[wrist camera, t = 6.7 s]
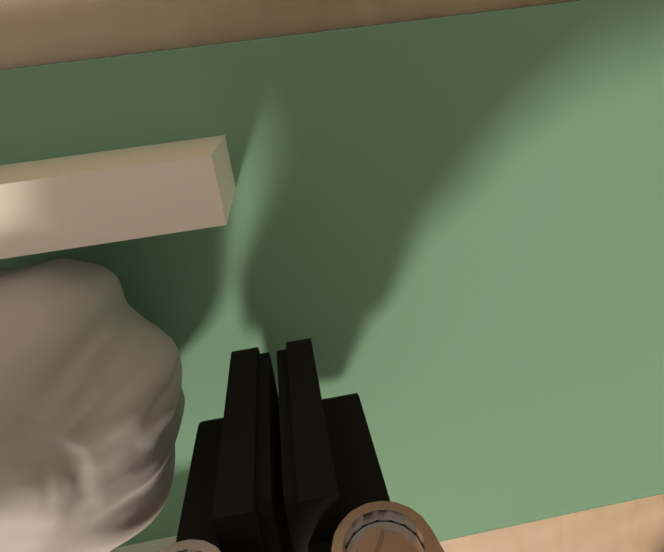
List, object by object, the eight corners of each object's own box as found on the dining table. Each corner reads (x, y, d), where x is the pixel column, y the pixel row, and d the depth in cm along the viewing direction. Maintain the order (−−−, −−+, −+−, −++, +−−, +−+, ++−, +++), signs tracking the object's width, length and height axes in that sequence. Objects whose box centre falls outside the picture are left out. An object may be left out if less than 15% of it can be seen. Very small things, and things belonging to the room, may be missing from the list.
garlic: (116, 490, 11) (11, 782, 7) (-126, 393, 10) (-511, 704, 5) (257, 315, 10) (252, 525, 5) (7, 161, 8) (-343, 276, 3)
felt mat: (972, -46, 9) (987, -49, 9) (778, 462, 15) (784, 467, 15) (-459, 126, 7) (-479, 126, 7) (-55, 640, 13) (-59, 648, 13)
